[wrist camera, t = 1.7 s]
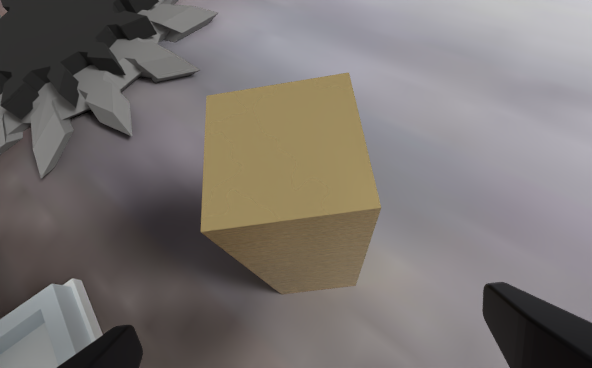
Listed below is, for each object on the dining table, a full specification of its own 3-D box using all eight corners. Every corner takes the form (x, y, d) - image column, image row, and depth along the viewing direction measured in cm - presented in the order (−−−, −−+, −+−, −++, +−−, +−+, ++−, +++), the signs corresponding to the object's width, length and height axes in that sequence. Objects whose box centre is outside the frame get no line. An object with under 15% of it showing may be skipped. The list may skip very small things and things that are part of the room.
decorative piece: (218, 114, 21) (-193, 206, 22) (235, 145, 25) (-120, 224, 26) (201, -94, 35) (-51, -32, 36) (214, -55, 38) (-17, 1, 39)
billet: (355, 285, 19) (380, 207, 8) (281, 294, 19) (200, 231, 8) (343, 215, 21) (348, 72, 10) (276, 224, 21) (206, 96, 10)
